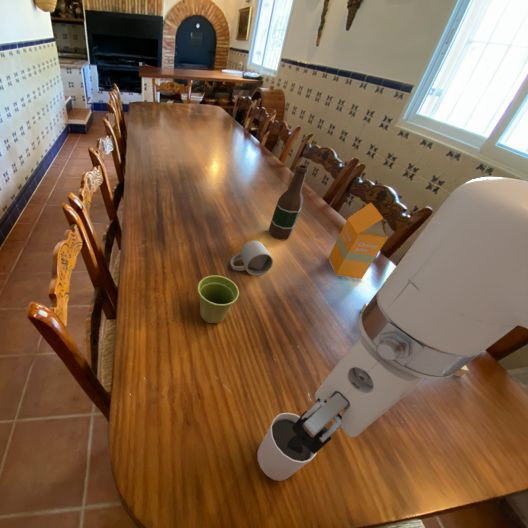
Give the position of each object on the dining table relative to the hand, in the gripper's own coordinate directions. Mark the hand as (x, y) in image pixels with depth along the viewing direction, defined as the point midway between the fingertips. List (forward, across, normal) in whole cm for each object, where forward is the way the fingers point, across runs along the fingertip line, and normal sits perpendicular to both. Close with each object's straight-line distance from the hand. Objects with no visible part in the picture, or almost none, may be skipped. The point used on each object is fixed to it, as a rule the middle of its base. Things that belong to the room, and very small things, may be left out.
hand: (329, 416), depth 36 cm
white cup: (+20, 0, +1) cm, 20 cm away
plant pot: (+20, +10, +31) cm, 39 cm away
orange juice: (+20, +58, +26) cm, 66 cm away
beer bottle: (+20, +54, +49) cm, 75 cm away
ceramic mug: (+20, +31, +40) cm, 55 cm away
